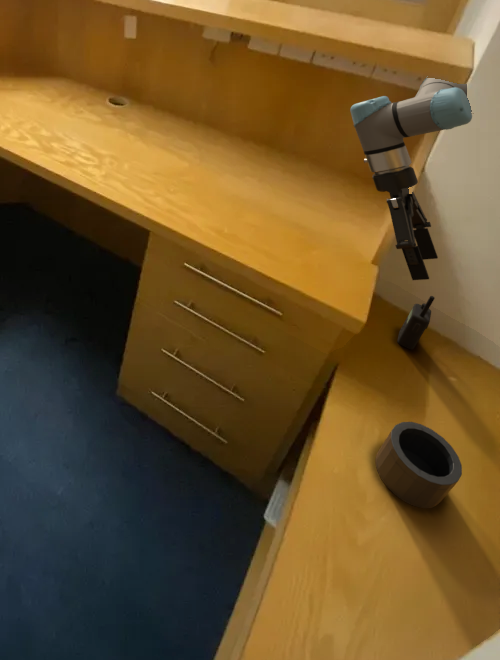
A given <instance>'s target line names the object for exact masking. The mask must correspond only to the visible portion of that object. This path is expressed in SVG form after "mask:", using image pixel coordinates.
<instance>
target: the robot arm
mask: <svg viewBox="0 0 500 660" xmlns="http://www.w3.org/2000/svg"><path fill="white" fill-rule="evenodd" d="M349 111H350V115H351V118H352V122H353V127H354V129H355V132H356V134H357V137H358V140H359V142H360V145H361V148H362V150H363V154H364V157H365V158H364V159H363V162H364V164H367V165H368V169H369V171H370V173H373V174H372V177H371V178H372V181H373V184H374V187H375V189H376V191H377V192H381V193H386V192H387V193H389V197H390V198H386V203H387V206H388V209H389V213H390V214H389V215H390V218H391V222H392V227H393V233H394V236H395V239H396V244H395V248H396V250H401V251H402V254H403V257H404V260H405V262H406V266H407V269H408V271H409V274H410V277H411V280H412V281H425V280H430V276H429V273H428V270H427V267H426V264H425V262H424V261H425V260H435V259H436V260H437V259H439V256H438V254H437V251H436V247H435V245H434V242H433V239H432V236H431V234H430V231H429V229H428V228H432V224H431V221H428V218H427V217H426V215H425V212H424V211H423V209H422V207H421V205H420V202H419V200H418V199H417V196H416V194H415V192H414V191H413V192H412V194H409V189H408V188H409V187H412V188H413V187H414V186H416V185H417V184H418V183H419V180H418V177H417V175H416V172H415V169H414V167H413V166H410V165H412V159H411V156H410V153H409V150H408V149H407V146H406V143H405V141H404V139H405V138H410V137H415V136H419V135H425V134H429V133H430V134H431V133H435V132H439V131H444V130H446V131H449V130H452V129H454V128H457V127H461V126H464V125H465V126H466V125H467V124H469V123H471V121H472V119H473V113H471V112H472V110H471V106H470V103H469V100H468V98H467V84H457V83H453V82H449V81H445V80H441V79H435V78H427V77H426V78H425V79H424V80H423V81H422V82H421V84H420V86H419V89H418V91H417V93H416V94H415V96H414V97H411V98H407V99H404V100H401V101H396V102H394V101H393V102H392V101H391V100H390V98H389V96H386V95H382V96H379V97H375V98H372V99H368V100H363V101H361V102H357V103H354V104H353V105H351V107H350V110H349Z"/></svg>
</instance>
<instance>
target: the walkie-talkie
mask: <svg viewBox="0 0 500 660" xmlns="http://www.w3.org/2000/svg"><path fill="white" fill-rule="evenodd" d="M434 300H435V296H433V295H430V296H429V298H428V299H427V301H426V303H424V302H423V303H422V304H420V303H415V304H413V306H412V308H411V310H410V311H409V313H408V315H407V317H406V319H405V320H404V322H403V324H402V326H401V327H400V330H399V331H398V335H397V343H398V345H400V346H402V347H405V348H407V349H408V350H414V349H415V348H416V346H417V344H418V342H419V341H420V339H421V338H422V336H423V334H424V333H425V330H427V329H428V327H429V324H430V322H431V316H432V310H431V309H430V308H431V306H432V304H433V302H434Z"/></svg>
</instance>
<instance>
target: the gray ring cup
mask: <svg viewBox="0 0 500 660" xmlns="http://www.w3.org/2000/svg"><path fill="white" fill-rule="evenodd" d="M375 467H376V471H377V474H378V476H379V477H380V479H381V481H382V482H383V484H384V485H385V487H387V489H389V491H390V492H392V494H393V495H395V496H396V497H397V498H399V499H400V500H401V501H403V502H405V503H407V504H408V505H410V506H413V507H416V508H420V509H432V508H434V507H436V506H438V505H439V504H440V503H442V501H443V500H444V498H446V497H447V495H448V494H449V493H450V492H451V491H452V489H454V487H455V486H456V484H457V483H458V482H459V481H460V479H461V477H462V475H463V467H462V462H461V459H460V457H459V456H458V453H457V452H456V451H455V449H454V448H453V447H452V445H451V444H450V443H449V442H448V441H447V440H446V438H444V437H443V436H442V435H440V434H439V433H438V432H436V431H434V430H433V429H432V428H430V427H428V426H426V425H424V424H421V423H418V422H413V421H402V422H399V423H397V424H395V425H394V427H393V428H392V429H391V431H390V432H389V434H388V435H387V436H386V438H385V440H384V442H383V443H382V444H381V446H380V448H379V449H378V451H377V452H376V455H375Z"/></svg>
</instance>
